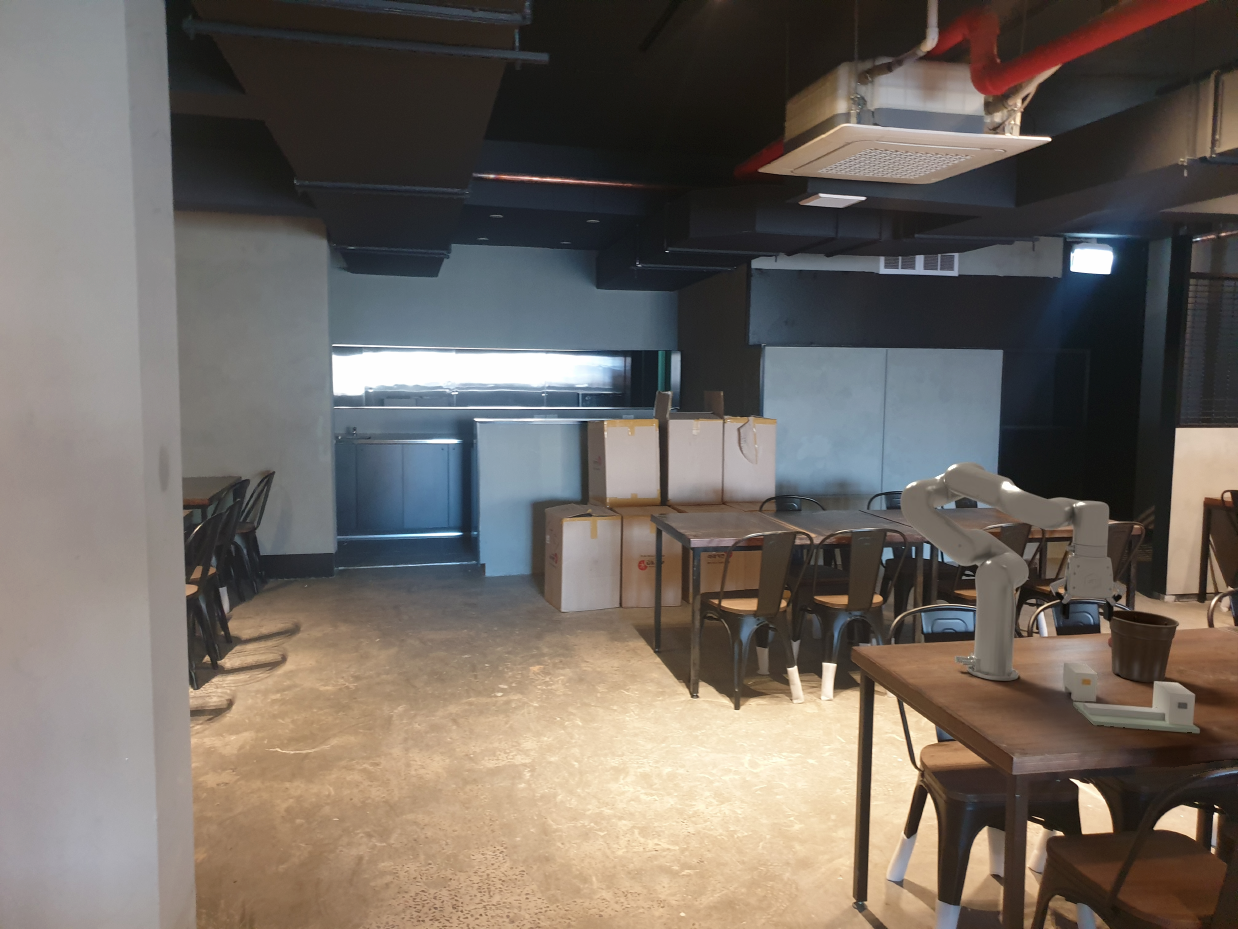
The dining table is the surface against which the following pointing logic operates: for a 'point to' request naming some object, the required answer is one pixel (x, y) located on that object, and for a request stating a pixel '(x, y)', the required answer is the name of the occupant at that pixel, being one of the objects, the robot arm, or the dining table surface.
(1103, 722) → the din panel
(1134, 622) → the plant pot
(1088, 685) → the block
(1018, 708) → the dining table surface
